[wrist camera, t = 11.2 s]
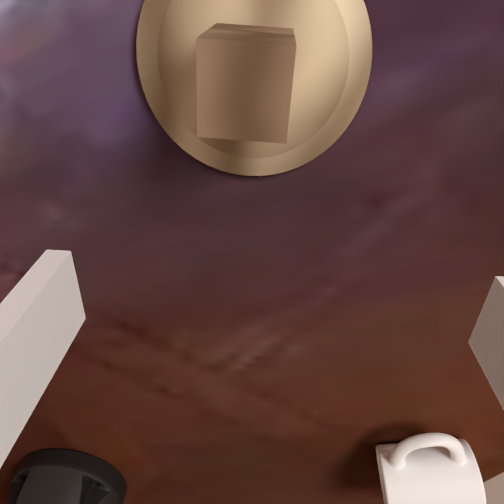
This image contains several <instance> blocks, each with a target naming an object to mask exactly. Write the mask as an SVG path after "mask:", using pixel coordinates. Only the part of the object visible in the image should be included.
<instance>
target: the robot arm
mask: <svg viewBox="0 0 504 504" xmlns="http://www.w3.org/2000/svg"><path fill="white" fill-rule="evenodd" d="M85 319H86V318H85V313H84V309H83V304H82V299H81V295H80V290H79V286H78V281H77V277H76V272H75V268H74V263H73V259H72V254H71V251H62V250H46V251H45V252H44V253H43V254H42V256H41V257H40V258H39V259H38V260H37V261H36V263H35V264H34V265H33V266H32V267H31V268H30V270H29V271H28V272H27V273H26V274H25V275H24V277H23V278H22V279H21V280H20V281H19V282H18V284H17V285H16V286H15V287H14V288H13V289H12V291H11V292H10V293H9V294H8V295H7V296H6V298H5V299H4V300H3V301H2V302H1V304H0V468H1V467H2V465H3V463H4V461H5V459H6V458H7V456H8V454H9V452H10V451H11V449H12V447H13V445H14V444H15V442H16V440H17V438H18V437H19V435H20V433H21V431H22V430H23V428H24V426H25V424H26V423H27V421H28V419H29V417H30V415H31V414H32V412H33V410H34V408H35V407H36V405H37V403H38V401H39V400H40V398H41V396H42V394H43V393H44V391H45V389H46V387H47V386H48V384H49V382H50V380H51V379H52V377H53V375H54V373H55V371H56V370H57V368H58V366H59V364H60V363H61V361H62V359H63V357H64V356H65V354H66V352H67V350H68V349H69V347H70V345H71V343H72V342H73V340H74V338H75V336H76V335H77V333H78V331H79V329H80V327H81V326H82V324H83V322H84V320H85ZM468 343H469V345H470V347H471V349H472V351H473V353H474V354H475V356H476V358H477V360H478V362H479V364H480V366H481V368H482V370H483V372H484V374H485V376H486V377H487V379H488V381H489V383H490V385H491V387H492V389H493V391H494V393H495V395H496V397H497V398H498V400H499V402H500V404H501V406H502V408H503V410H504V277H500V276H495V279H494V281H493V284H492V286H491V289H490V291H489V293H488V296H487V298H486V301H485V303H484V305H483V308H482V310H481V313H480V315H479V318H478V320H477V322H476V325H475V327H474V330H473V332H472V334H471V337H470V339H469V342H468ZM126 492H127V486H126V483H125V480H124V479H123V477H122V476H121V474H120V473H119V472H118V471H117V470H116V469H114V468H113V467H112V466H110V465H109V464H107V463H106V462H104V461H102V460H100V459H98V458H96V457H93V456H91V455H88V454H85V453H81V452H77V451H72V450H64V449H47V450H41V451H37V452H34V453H31V454H29V455H27V456H26V457H25V458H24V459H23V460H22V461H21V463H20V464H19V466H18V468H17V470H16V472H15V474H14V476H13V478H12V481H11V486H10V491H9V496H8V501H7V504H123V502H124V499H125V495H126Z"/></svg>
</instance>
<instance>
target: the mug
mask: <svg viewBox="0 0 504 504" xmlns="http://www.w3.org/2000/svg"><path fill="white" fill-rule="evenodd" d="M376 455H377V463H378V470H379V476H380V482H381V488H382V493H383V499H384V504H486V496H485V491H484V485H483V481H482V477H481V474H480V470H479V467H478V464H477V461H476V459H475V456H474V454H473V452H472V450H471V448H470V446H469V444H468V443H467V442H466V441H465V440H464V439H456V438H455V437H453V436H451V435H448V434H444V433H423V434H418V435H414V436H411V437H409V438H406V439H404V440H402V441H401V442H399V443H396V444H382V445H377V446H376Z"/></svg>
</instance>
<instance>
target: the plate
mask: <svg viewBox="0 0 504 504" xmlns="http://www.w3.org/2000/svg"><path fill="white" fill-rule="evenodd" d="M216 23H225V24H238V25H252V26H266V27H280V28H293V30H294V35H295V40H296V45H297V46H296V56H295V65H294V75H293V85H292V94H291V104H290V113H289V123H288V133H287V142H286V144H282V143H269V142H256V141H243V140H230V139H217V138H204V137H197V79H196V38H197V37H198V36H200V35H201V34H202V33H204V32H205V31H206V30H208V29H209V28H210V27H212V26H213V25H214V24H216ZM136 51H137V64H138V71H139V77H140V80H141V84H142V88H143V91H144V94H145V96H146V99H147V101H148V104H149V106H150V108H151V110H152V112H153V114H154V115H155V117H156V119H157V120H158V122H159V123H160V125H161V126H162V128H163V129H164V130H165V132H166V133H167V134H168V135H169V136H170V137H171V138H172V140H173V141H174V142H175V143H176V144H178V145H179V146H180V147H181V148H182V149H183V150H184V151H186V152H187V153H188V154H190V155H191V156H193V157H194V158H195V159H197V160H199V161H201V162H203V163H204V164H206V165H208V166H211V167H213V168H216V169H218V170H221V171H224V172H228V173H232V174H238V175H245V176H264V175H274V174H278V173H282V172H286V171H289V170H292V169H295V168H297V167H300V166H302V165H304V164H306V163H307V162H309V161H311V160H313V159H314V158H316V157H317V156H319V155H320V154H322V153H323V152H324V151H325V150H327V149H328V148H329V147H330V146H331V145H332V144H333V143H334V142H335V141H336V140H337V139H338V138H339V137H340V136H341V135H342V134H343V132H344V131H345V130H346V128H347V127H348V125H349V124H350V123H351V121H352V120H353V118H354V116H355V114H356V112H357V110H358V108H359V107H360V104H361V102H362V99H363V97H364V94H365V92H366V88H367V84H368V80H369V76H370V70H371V62H372V36H371V28H370V22H369V18H368V14H367V10H366V6H365V3H364V1H363V0H145V1H144V3H143V6H142V9H141V14H140V18H139V22H138V30H137V39H136Z"/></svg>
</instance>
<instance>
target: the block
mask: <svg viewBox="0 0 504 504" xmlns="http://www.w3.org/2000/svg"><path fill="white" fill-rule="evenodd" d="M296 46H297V45H296V40H295V35H294V30H293V28H280V27H266V26H252V25H238V24H225V23H216V24H214V25H213V26H212V27H210V28H209V29H208V30H206V31H205V32H204V33H202V34H201V35H200V36H198V37H197V38H196V79H197V137H204V138H217V139H230V140H243V141H256V142H269V143H282V144H286V142H287V133H288V123H289V113H290V104H291V94H292V85H293V75H294V65H295V56H296Z"/></svg>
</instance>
